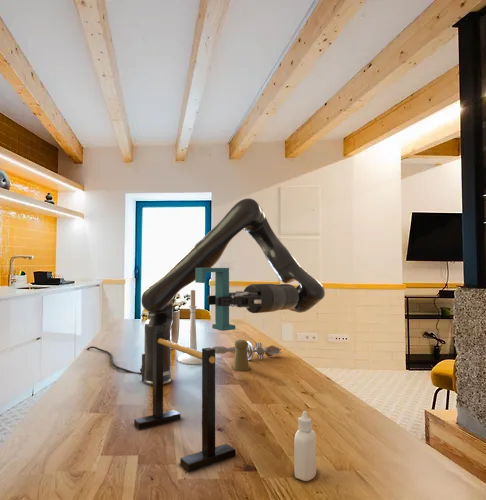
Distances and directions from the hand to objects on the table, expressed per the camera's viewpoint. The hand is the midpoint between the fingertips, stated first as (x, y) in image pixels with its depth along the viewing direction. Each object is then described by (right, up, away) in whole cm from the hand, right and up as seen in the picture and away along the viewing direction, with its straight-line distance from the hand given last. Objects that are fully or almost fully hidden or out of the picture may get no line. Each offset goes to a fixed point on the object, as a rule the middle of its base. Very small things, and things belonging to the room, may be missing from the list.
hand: (212, 301), depth 91 cm
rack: (-8, -32, -4) cm, 33 cm away
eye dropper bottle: (+16, -31, -18) cm, 40 cm away
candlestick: (-1, -35, +68) cm, 76 cm away
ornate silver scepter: (+22, -35, +69) cm, 80 cm away
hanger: (+1, -7, 0) cm, 7 cm away
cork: (+17, -34, +56) cm, 68 cm away
